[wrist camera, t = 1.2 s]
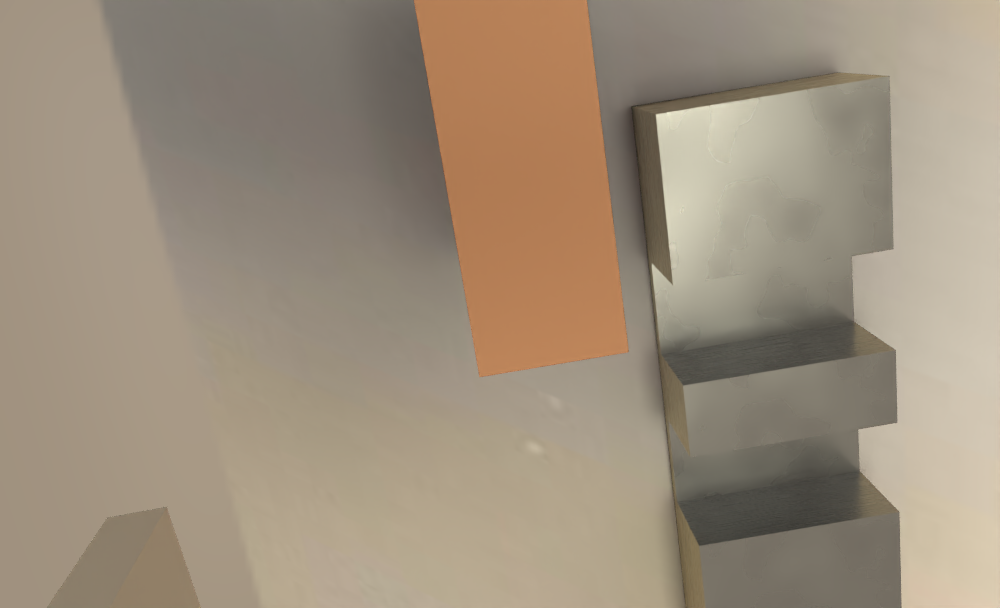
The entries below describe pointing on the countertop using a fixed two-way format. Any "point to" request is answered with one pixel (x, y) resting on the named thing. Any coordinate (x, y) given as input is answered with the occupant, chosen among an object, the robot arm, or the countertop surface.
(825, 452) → the grey block fixture
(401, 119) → the countertop surface
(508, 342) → the orange block
